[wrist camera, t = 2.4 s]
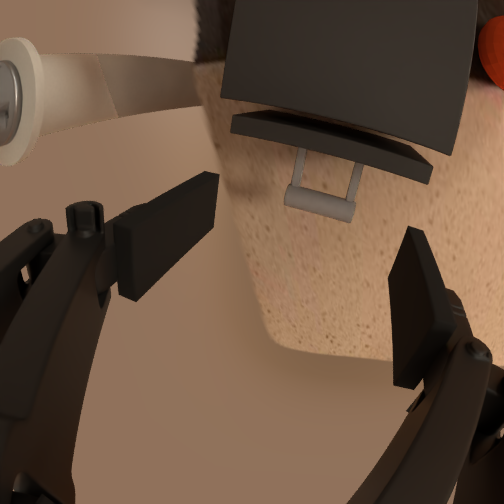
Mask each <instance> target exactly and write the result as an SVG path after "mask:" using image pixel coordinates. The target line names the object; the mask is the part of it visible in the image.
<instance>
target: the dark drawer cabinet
mask: <svg viewBox="0 0 504 504" xmlns="http://www.w3.org/2000/svg"><path fill="white" fill-rule="evenodd" d="M477 9H478V0H236V2H235V7H234V13H233V19H232V24H231V30H230V36H229V42H228V49H227V55H226V61H225V68H224V74H223V81H222V88H221V95H220V97H221V98H225V99H232V100H239V101H246V102H252V103H258V104H264V105H270V106H275V107H281V108H286V109H291V110H296V111H300V112H305V113H310V114H314V115H318V116H323V117H327V118H331V119H335V120H339V121H343V122H347V123H350V124H354V125H358V126H361V127H365V128H368V129H372V130H375V131H379V132H382V133H385V134H388V135H392V136H395V137H398V138H401V139H404V140H407V141H410V142H413V143H416V144H419V145H422V146H424V147H427V148H430V149H433V150H435V151H438V152H441V153H443V154H446V155H449V156H451V154H452V151H453V147H454V144H455V140H456V136H457V132H458V128H459V124H460V119H461V115H462V111H463V106H464V101H465V97H466V91H467V86H468V81H469V75H470V69H471V63H472V56H473V49H474V41H475V32H476V22H477Z"/></svg>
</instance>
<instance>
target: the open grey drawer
mask: <svg viewBox="0 0 504 504" xmlns="http://www.w3.org/2000/svg"><path fill="white" fill-rule="evenodd" d="M230 133H233V134H239V135H244V136H249V137H254V138H259V139H264V140H269V141H274V142H278V143H283V144H287V145H292V146H296V147H298V152H297V157H296V162H295V167H294V172H293V177H292V182H291V184H289V185H288V187H287V190H286V193H285V197H284V205H286V206H290V207H293V208H297V209H301V210H304V211H308V212H312V213H315V214H319V215H322V216H326V217H329V218H333V219H336V220H340V221H343V222H347V223H351V221H352V218H353V215H354V211H355V207H356V202H354V200H355V196H356V192H357V189H358V185H359V181H360V177H361V174H362V170H363V166H364V165H368V166H371V167H374V168H378V169H381V170H384V171H387V172H391V173H394V174H397V175H400V176H403V177H406V178H409V179H412V180H415V181H418V182H421V183H424V184H426V185H428V183H429V180H430V177H431V173H432V170H433V166H432V165H431V164H430V163H429V162H428V161H427V160H426V159H424V158H423V157H422V156H421V155H420V154H419V153H418V152H417V151H415V150H414V149H413V148H412V147H411V146H409V145H406V144H403V143H400V142H397V141H394V140H391V139H388V138H384V137H381V136H378V135H374V134H371V133H368V132H364V131H361V130H357V129H353V128H350V127H346V126H342V125H338V124H334V123H330V122H326V121H322V120H318V119H313V118H309V117H304V116H300V115H295V114H290V113H285V112H280V111H275V110H262V111H255V112H248V113H241V114H235V115H233V116H232V123H231V130H230ZM307 150H313V151H317V152H320V153H324V154H328V155H332V156H336V157H340V158H343V159H347V160H350V161H354V162H355V165H354V169H353V172H352V176H351V180H350V184H349V188H348V192H347V195H346V199H344V198H340V197H337V196H333V195H330V194H326V193H322V192H319V191H315V190H311V189H308V188H304V187H300V184H301V179H302V174H303V169H304V165H305V160H306V155H307Z"/></svg>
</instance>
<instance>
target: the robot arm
mask: <svg viewBox="0 0 504 504" xmlns="http://www.w3.org/2000/svg"><path fill="white" fill-rule="evenodd" d="M22 103H23V94H22V84H21V79H20V75H19V72H18V70H17V68H16V66H15V65H14V64H13V63H12V62H11V61H9V60H1V61H0V147H1V146H4V145H7V144H9V143H10V142H11V141H12V140H13V138H14V137H15V135H16V133H17V130H18V127H19V124H20V120H21V114H22ZM219 175H220V174H215V173H211V172H207V171H204V172H202V173H200V174H198V175H196V176H195V177H193V178H191V179H189V180H187V181H185V182H183V183H182V184H180V185H178V186H176V187H174V188H173V189H171V190H169V191H167V192H165V193H163V194H162V195H160V196H158V197H156V198H155V199H153V200H151V201H149V202H148V203H144V204H140V205H136V206H133V207H131V208H130V209H128V210H126V211H125V212H123V213H121V214H119V216H116V217H114V218H113V219H111V220H109V221H108V222H106V223H104V211H103V205H102V204H100V203H98V202H95V201H82V202H77V203H74V204H71V205H69V206H68V207H67V208H66V218H67V227H68V232H67V234H66V235H64V234H55V233H54V232H53V225H52V222H51V221H50V220H47V219H41V218H38V219H33V220H32V221H29V222H27V223H25V224H24V225H22V226H21V227H19V228H18V229H16V230H15V231H14V232H13V233H11V234H10V235H8V236H7V237H6V238H5V239H3V240H2V241H1V242H0V504H75V487H74V483H73V479H72V473H71V469H72V461H73V454H74V448H75V442H76V436H77V431H78V425H79V420H80V414H81V410H82V405H83V400H84V396H85V391H86V387H87V382H88V378H89V374H90V370H91V366H92V362H93V358H94V354H95V350H96V347H97V343H98V339H99V336H100V332H101V329H102V325H103V322H104V318H105V315H106V312H107V308H108V305H109V302H110V299H111V289H110V287H111V286H112V285H113V284H114V283H115V282H117V283H118V292H119V295H121V296H123V297H125V298H128V299H130V300H132V301H135V302H137V301H138V300H139V299H140V298H141V297H142V296H143V295H144V294H145V293H146V292H147V291H148V290H149V289H150V288H151V287H152V286H153V285H154V284H155V283H156V282H157V281H158V280H159V279H160V278H161V277H162V276H163V275H164V274H165V273H166V272H167V271H168V270H169V269H170V268H171V267H173V266H174V265H175V263H177V262H178V261H179V259H181V258H182V257H183V256H184V255H185V254H186V253H187V252H188V251H189V250H190V249H191V248H192V247H193V246H194V245H195V244H196V243H198V242H199V241H200V240H201V239H202V238H203V237H204V236H205V235H206V234H207V233H208V232H209V231H210V230H211V229H212V228H213V227H214V218H215V210H216V200H217V192H218V184H219ZM24 266H26V267H27V271H28V275H29V279H28V280H27V281H26V282H24V280H23V277H22V273H21V269H22V268H23V267H24ZM388 284H389V296H390V308H391V323H392V343H393V385H394V386H399V387H403V388H408V389H412V390H414V389H415V388H416V386H417V385H418V384H419V383H420V381H421V380H422V379H423V382H424V389H423V391H422V392H421V393H420V394H419V396H418V397H417V398H416V399H415V401H414V402H413V403H412V404H411V405H410V407H409V408H408V409H407V410H406V411H407V412H409V413H408V415H407V416H406V418H405V420H404V422H403V423H402V425H401V427H400V428H399V430H398V432H397V433H396V435H395V436H394V438H393V440H392V441H391V443H390V444H389V446H388V447H387V449H386V451H385V452H384V454H383V455H382V456H381V458H380V459H379V461H378V463H377V464H376V465H375V467H374V468H373V470H372V471H371V472H370V474H369V475H368V476H367V478H366V479H365V481H364V482H363V483H362V485H361V486H360V487H359V489H358V490H357V491H356V492H355V494H354V495H353V496H352V498H351V499H350V500H349V501H348V503H347V504H447V502H448V500H449V498H450V495H451V493H452V491H453V489H454V486H455V484H456V482H457V486H456V492H455V496H454V501H453V504H504V435H503V437H500V431H501V430H502V428H504V370H503V369H501V368H500V367H498V366H496V365H494V364H492V361H493V360H492V354H491V352H490V350H489V348H488V347H487V346H486V345H485V344H484V343H483V342H482V341H480V340H479V339H477V338H475V337H473V334H472V331H471V328H470V325H469V322H468V319H467V318H466V313H465V310H464V307H463V305H462V302H461V300H460V298H459V297H458V296H457V295H456V293H455V292H454V291H453V290H450V289H447V288H445V285H444V282H443V280H442V277H441V274H440V271H439V269H438V266H437V263H436V261H435V258H434V256H433V253H432V251H431V248H430V246H429V243H428V241H427V238H426V236H425V234H424V231H423V230H420V229H417V228H414V227H410V226H408V227H407V230H406V233H405V235H404V238H403V241H402V243H401V246H400V249H399V251H398V254H397V256H396V259H395V262H394V264H393V267H392V269H391V271H390V274H389V276H388ZM457 479H458V480H457ZM13 489H14V491H13Z"/></svg>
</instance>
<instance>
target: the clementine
mask: <svg viewBox="0 0 504 504" xmlns="http://www.w3.org/2000/svg"><path fill="white" fill-rule="evenodd" d="M478 51H479V57H480V60H481V63H482V65H483V67H484V69H485V71H486V72H487V74H488V76H489V77H490V78H491V79H492V80H493V82H494V83H495V84H496V85H497V86H499V87H500V88H501V89H502V90H504V16H497V17H495V18H492V19H490V20H489V21H488V22H487V23H486V24H485V25H484V27H483V28H482V29H481V31H480V34H479V37H478Z"/></svg>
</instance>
